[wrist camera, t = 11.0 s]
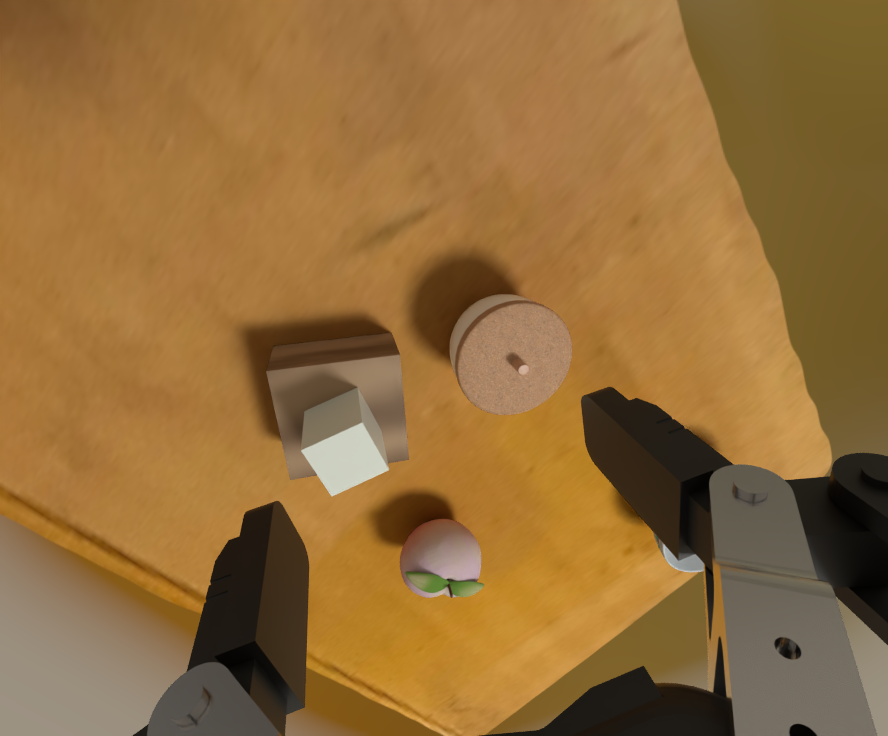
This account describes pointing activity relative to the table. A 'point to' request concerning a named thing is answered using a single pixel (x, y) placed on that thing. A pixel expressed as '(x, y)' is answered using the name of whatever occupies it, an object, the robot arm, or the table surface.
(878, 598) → the robot arm
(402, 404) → the walnut block
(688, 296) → the table surface
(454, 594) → the decorative fruit
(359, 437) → the off-white cube
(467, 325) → the lidded jar
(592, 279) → the table surface
